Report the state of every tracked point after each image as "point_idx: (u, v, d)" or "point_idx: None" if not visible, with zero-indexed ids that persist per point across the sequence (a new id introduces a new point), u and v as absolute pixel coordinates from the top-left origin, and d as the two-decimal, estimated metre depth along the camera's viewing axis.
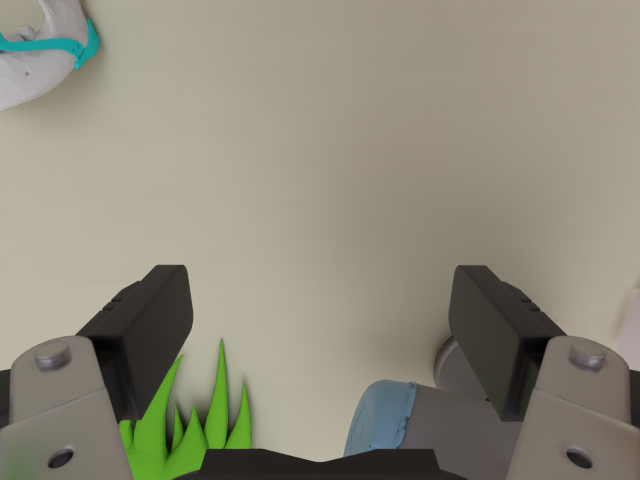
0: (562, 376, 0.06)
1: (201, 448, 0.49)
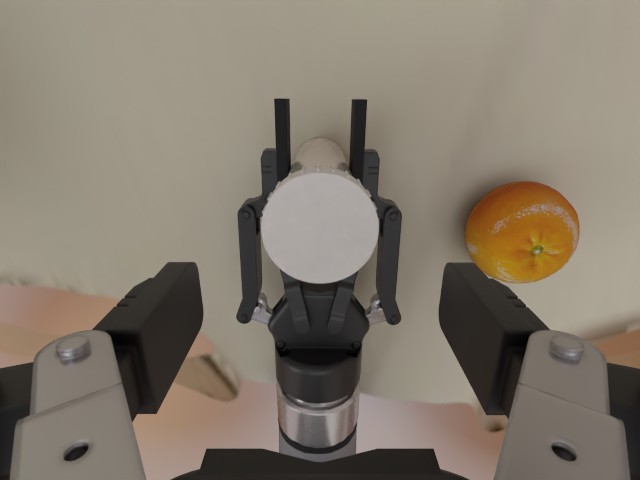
0: (543, 370, 0.06)
1: None
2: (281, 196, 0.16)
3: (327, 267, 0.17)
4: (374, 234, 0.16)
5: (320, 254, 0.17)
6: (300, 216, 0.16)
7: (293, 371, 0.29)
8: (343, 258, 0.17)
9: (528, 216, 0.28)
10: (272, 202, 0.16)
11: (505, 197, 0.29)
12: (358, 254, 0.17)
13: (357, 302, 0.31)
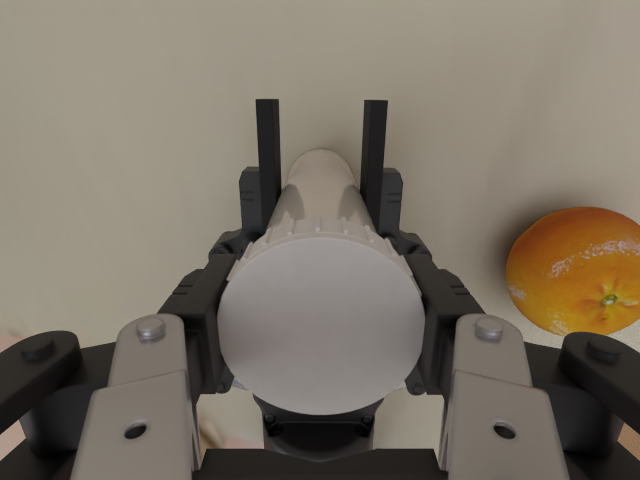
0: (473, 353, 0.07)
1: None
2: (250, 278, 0.09)
3: (333, 391, 0.10)
4: (417, 340, 0.09)
5: (321, 371, 0.10)
6: (287, 312, 0.09)
7: None
8: (361, 378, 0.10)
9: (600, 257, 0.21)
10: (234, 288, 0.09)
11: (565, 230, 0.22)
12: (388, 371, 0.10)
13: None
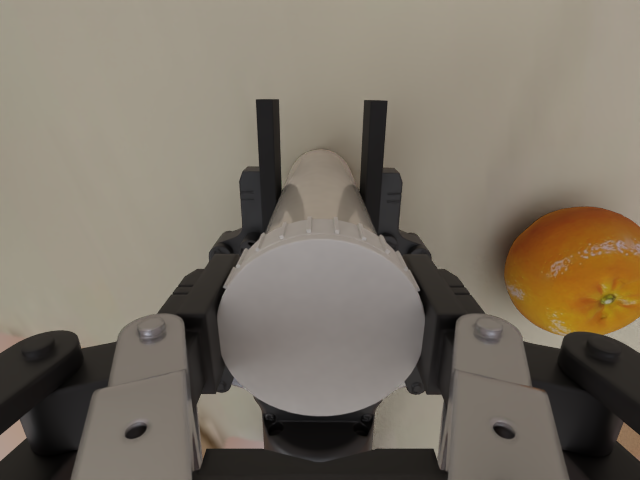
0: (472, 352, 0.07)
1: None
2: (246, 376, 0.10)
3: (392, 339, 0.09)
4: (352, 251, 0.08)
5: (364, 345, 0.09)
6: (287, 357, 0.09)
7: None
8: (383, 312, 0.09)
9: (599, 257, 0.21)
10: (254, 390, 0.10)
11: (564, 229, 0.22)
12: (384, 285, 0.09)
13: None
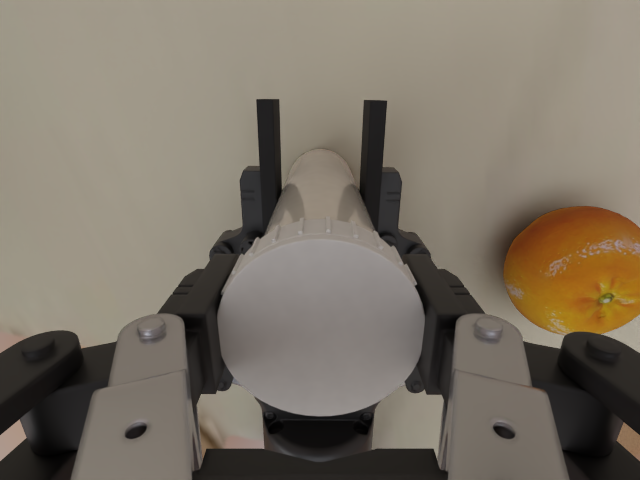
0: (472, 352, 0.07)
1: None
2: (348, 404, 0.10)
3: (342, 274, 0.08)
4: (233, 293, 0.09)
5: (341, 302, 0.09)
6: (337, 369, 0.09)
7: None
8: (305, 278, 0.09)
9: (597, 256, 0.21)
10: (365, 402, 0.10)
11: (563, 229, 0.22)
12: (275, 272, 0.08)
13: None
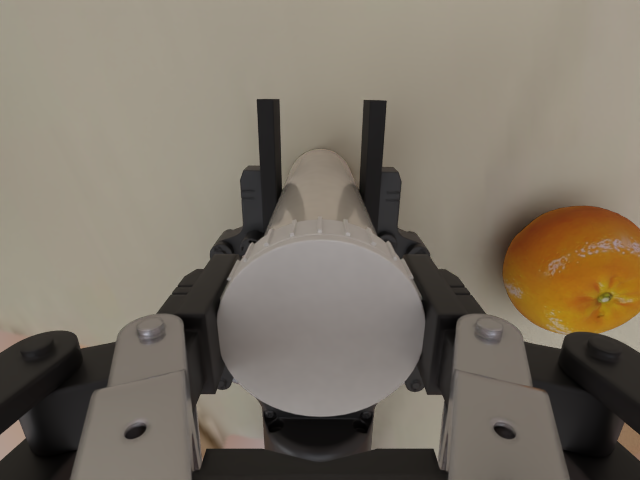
0: (473, 353, 0.07)
1: None
2: (413, 330, 0.09)
3: (255, 306, 0.09)
4: (256, 392, 0.10)
5: (285, 313, 0.09)
6: (363, 331, 0.09)
7: (286, 454, 0.22)
8: (252, 336, 0.09)
9: (596, 255, 0.21)
10: (417, 314, 0.09)
11: (562, 228, 0.22)
12: (242, 357, 0.09)
13: None
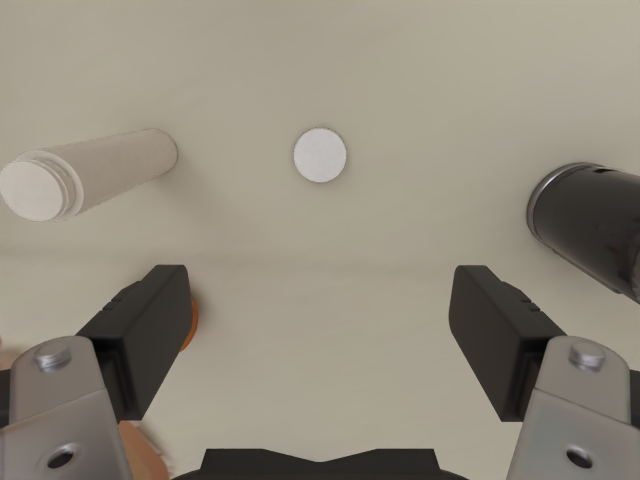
0: (562, 376, 0.06)
1: None
2: (298, 147, 0.36)
3: (329, 171, 0.37)
4: (343, 148, 0.36)
5: (324, 166, 0.37)
6: (309, 152, 0.36)
7: None
8: (334, 164, 0.36)
9: None
10: (295, 151, 0.36)
11: None
12: (340, 160, 0.36)
13: None
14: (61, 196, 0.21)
